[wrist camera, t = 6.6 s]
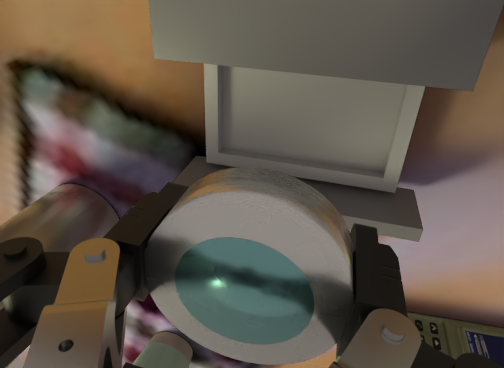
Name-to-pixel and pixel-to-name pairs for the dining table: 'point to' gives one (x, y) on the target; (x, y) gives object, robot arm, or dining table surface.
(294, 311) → the disc
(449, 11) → the block
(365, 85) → the tray
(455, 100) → the dining table surface
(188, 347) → the coffee cup
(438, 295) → the dining table surface
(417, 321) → the handheld radio
